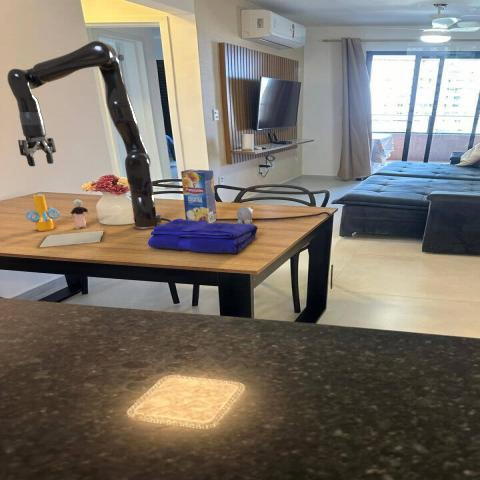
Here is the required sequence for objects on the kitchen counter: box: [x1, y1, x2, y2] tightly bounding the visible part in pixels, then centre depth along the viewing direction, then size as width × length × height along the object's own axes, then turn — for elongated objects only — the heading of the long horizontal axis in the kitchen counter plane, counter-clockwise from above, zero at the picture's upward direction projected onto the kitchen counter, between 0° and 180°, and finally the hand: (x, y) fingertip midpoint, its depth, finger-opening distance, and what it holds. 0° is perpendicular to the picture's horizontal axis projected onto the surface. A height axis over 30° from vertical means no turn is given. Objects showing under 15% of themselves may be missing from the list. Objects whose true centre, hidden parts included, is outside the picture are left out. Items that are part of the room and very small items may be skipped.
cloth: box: [39, 230, 104, 248], centre depth 154 cm, size 20×14×1 cm
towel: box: [147, 218, 259, 255], centre depth 151 cm, size 26×36×9 cm
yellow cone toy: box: [24, 193, 60, 232], centre depth 163 cm, size 12×10×15 cm
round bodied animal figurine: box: [236, 205, 254, 225], centre depth 180 cm, size 7×12×8 cm, turn 165°
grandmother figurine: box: [69, 199, 91, 230], centre depth 167 cm, size 8×4×13 cm, turn 148°
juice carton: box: [180, 168, 217, 223], centre depth 177 cm, size 12×8×24 cm, turn 75°
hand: (41, 164), depth 157 cm, fingers open, 8 cm apart
